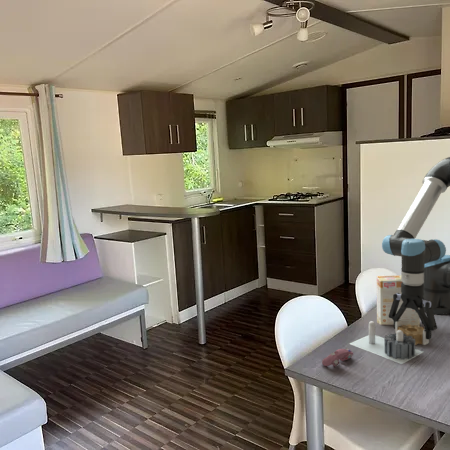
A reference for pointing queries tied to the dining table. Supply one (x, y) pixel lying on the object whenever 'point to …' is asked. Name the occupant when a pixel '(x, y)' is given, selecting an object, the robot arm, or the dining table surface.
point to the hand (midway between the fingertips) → (411, 342)
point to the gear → (399, 346)
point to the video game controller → (337, 357)
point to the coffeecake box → (385, 299)
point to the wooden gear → (413, 332)
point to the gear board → (380, 344)
